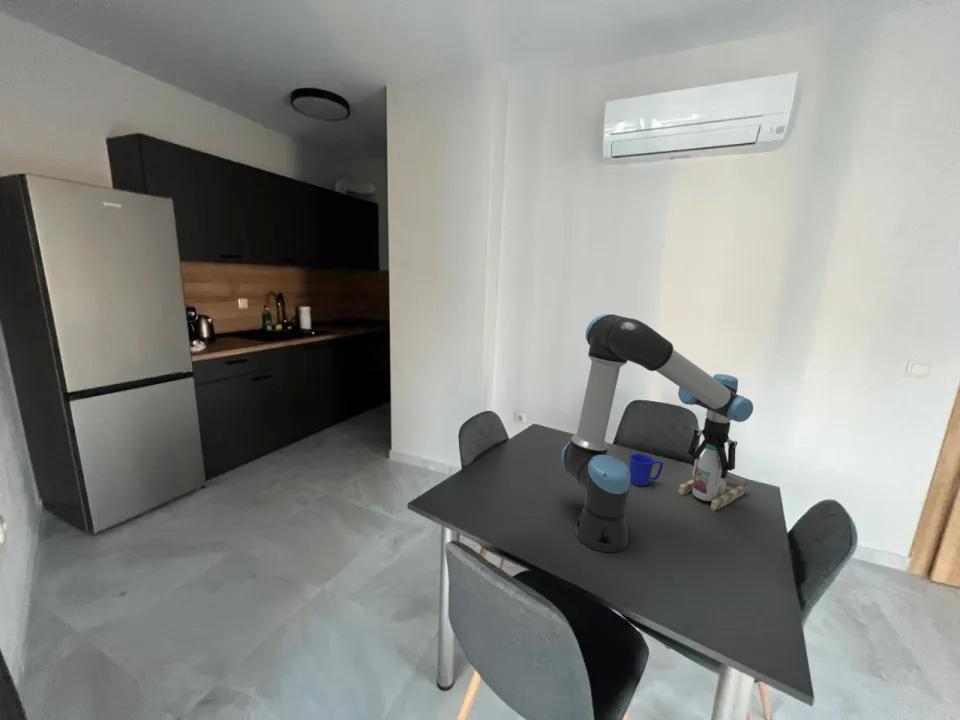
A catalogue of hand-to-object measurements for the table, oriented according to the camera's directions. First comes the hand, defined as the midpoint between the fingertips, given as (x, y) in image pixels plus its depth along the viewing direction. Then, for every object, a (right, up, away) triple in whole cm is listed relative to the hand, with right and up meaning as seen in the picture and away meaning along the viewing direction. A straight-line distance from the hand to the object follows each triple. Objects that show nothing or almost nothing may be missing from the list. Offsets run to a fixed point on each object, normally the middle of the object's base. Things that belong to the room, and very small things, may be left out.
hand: (706, 480), depth 145 cm
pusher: (+4, -6, +5) cm, 9 cm away
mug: (-18, -4, +11) cm, 22 cm away
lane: (+5, -7, +5) cm, 10 cm away
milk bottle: (0, -6, +1) cm, 6 cm away
